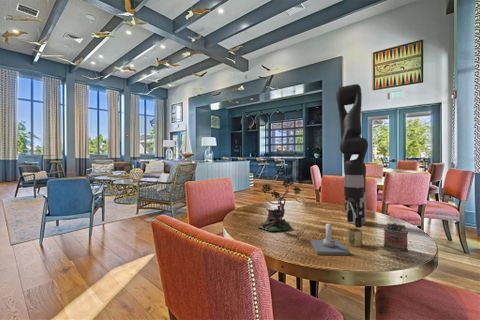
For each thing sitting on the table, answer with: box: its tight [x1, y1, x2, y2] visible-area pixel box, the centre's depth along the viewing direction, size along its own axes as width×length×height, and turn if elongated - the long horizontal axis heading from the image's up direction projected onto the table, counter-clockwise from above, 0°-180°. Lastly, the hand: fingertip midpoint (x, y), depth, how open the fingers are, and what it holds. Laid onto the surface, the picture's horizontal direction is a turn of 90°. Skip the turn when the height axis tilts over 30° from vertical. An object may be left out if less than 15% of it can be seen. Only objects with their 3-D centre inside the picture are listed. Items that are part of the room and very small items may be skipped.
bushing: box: [346, 227, 363, 248], centre depth 97 cm, size 5×5×6 cm
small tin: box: [383, 222, 409, 253], centre depth 92 cm, size 8×3×10 cm, turn 45°
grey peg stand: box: [309, 223, 351, 256], centre depth 93 cm, size 12×12×10 cm
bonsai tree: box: [257, 166, 306, 232], centre depth 125 cm, size 35×24×32 cm
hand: (354, 224), depth 97 cm, fingers open, 8 cm apart
